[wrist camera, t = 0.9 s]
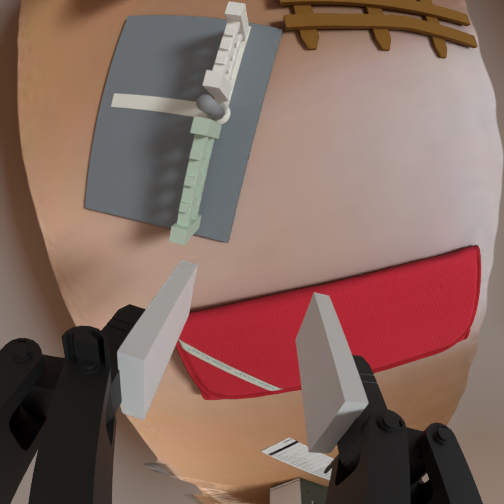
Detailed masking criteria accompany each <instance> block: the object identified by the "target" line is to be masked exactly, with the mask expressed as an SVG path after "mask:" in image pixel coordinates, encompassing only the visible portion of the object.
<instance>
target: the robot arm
mask: <svg viewBox="0 0 504 504" xmlns="http://www.w3.org/2000/svg"><path fill="white" fill-rule="evenodd" d="M197 265H198V264H195V263H191V262H187V261H183V260H181V261H180V263H179V264H178V265H177V267H176V268H175V269H174V271H173V272H172V273H171V275H170V276H169V278H168V279H167V280H166V282H165V283H164V284H163V286H162V287H161V289H160V290H159V291H158V293H157V294H156V296H155V297H154V298H153V300H152V301H151V303H150V304H149V306H148V307H147V308H146V309H143V308H140V307H136V306H133V305H130V304H129V305H127V306H125V307H123V308H121V309H119V310H118V311H117V312H116V313H115V315H114V316H113V317H112V319H110V321H109V322H108V323H107V325H106V326H105V327H104V328H103V329H102V330H101V331H100V330H99V329H97V328H94V327H91V326H78V327H73V328H71V329H69V330H67V331H66V332H65V333H64V335H63V336H62V342H63V348H64V354H65V358H59V357H53V356H48V355H43V354H42V351H41V348H40V347H39V345H38V344H37V343H36V342H35V341H33V340H30V339H27V338H18V339H15V340H12V341H10V342H9V343H7V344H6V345H5V346H4V347H3V348H2V349H1V350H0V504H10V503H11V501H12V499H13V497H14V495H15V493H16V490H17V488H18V486H19V484H20V482H21V480H22V478H23V476H24V474H25V473H26V471H27V469H28V467H29V465H30V463H31V461H32V459H33V457H34V456H35V454H36V452H37V450H38V453H37V458H36V462H35V468H34V472H33V478H32V483H31V490H30V497H29V504H112V476H113V458H114V443H115V433H116V423H117V422H116V412H117V410H118V408H119V406H120V404H121V409H122V413H125V414H127V415H130V416H133V417H136V418H139V419H142V420H144V419H145V417H146V415H147V412H148V410H149V407H150V405H151V402H152V400H153V397H154V395H155V393H156V390H157V388H158V385H159V383H160V381H161V378H162V376H163V374H164V371H165V369H166V367H167V364H168V362H169V360H170V357H171V355H172V353H173V350H174V348H175V346H176V343H177V341H178V339H179V336H180V334H181V332H182V330H183V327H184V325H185V323H186V321H187V318H188V316H189V311H190V305H191V299H192V293H193V288H194V282H195V276H196V271H197ZM296 348H297V355H298V363H299V371H300V379H301V388H302V396H303V405H304V414H305V423H306V432H307V442H308V452H312V453H330V452H331V451H332V450H333V449H334V447H335V446H336V445H338V451H339V454H338V455H337V457H336V458H335V459H334V460H333V461H332V462H331V463H330V464H329V465H328V466H327V467H326V468H325V471H324V473H325V474H327V473H328V472H329V471H330V469H331V468H332V471H331V476H330V482H329V487H328V492H327V497H326V501H325V504H483V503H482V500H481V497H480V495H479V492H478V489H477V487H476V484H475V482H474V480H473V476H472V474H471V471H470V469H469V467H468V464H467V462H466V459H465V457H464V455H463V452H462V450H461V448H460V446H459V443H458V441H457V439H456V437H455V435H454V433H453V432H452V430H450V429H449V428H448V427H447V426H445V425H443V424H441V423H433V424H430V425H429V426H428V427H427V428H426V430H425V431H424V432H423V431H419V430H415V429H411V428H407V427H406V425H405V422H404V420H403V419H402V418H401V417H400V416H399V415H398V414H396V413H395V412H393V411H391V410H388V409H387V407H386V404H385V402H384V399H383V396H382V394H381V391H380V389H379V386H378V384H376V383H377V381H376V379H375V376H373V375H374V374H373V371H372V369H371V367H370V365H369V363H368V362H367V361H366V360H365V359H364V358H363V357H362V356H358V355H352V354H351V351H350V348H349V346H348V343H347V340H346V338H345V335H344V332H343V330H342V327H341V324H340V322H339V319H338V317H337V314H336V312H335V309H334V306H333V304H332V301H331V299H330V296H328V295H324V294H319V293H315V292H314V293H313V296H312V299H311V301H310V304H309V307H308V309H307V312H306V314H305V317H304V320H303V322H302V325H301V327H300V330H299V332H298V335H297V337H296ZM38 448H39V449H38ZM426 473H427V474H428V477H429V480H428V481H427V482H426V483H424V482H423V481H422V477H423V476H424V475H425V474H426Z"/></svg>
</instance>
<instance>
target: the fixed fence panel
mask: <svg viewBox="0 0 504 504" xmlns="http://www.w3.org/2000/svg"><path fill="white" fill-rule="evenodd" d="M225 16H226V19H227V25H226V28H225V31H224V34H223V37H222V40H221V43H220V47H219V50H218V53H217V56H216V60H215V63H214V66H213V70H212V71H211V70H206V74H205V77H204V81H203V84H202V86H203V87H204V88H205V89H206V90H207V91H208V92H209V93H210V94H211V95H212V96H213V97H214V98H215V99H221V100H226V101H229V98H230V94H231V91H232V87H231V85H230V84H229V83H230V79H232V76H233V73H234V72H233V69H234V66H236V62H237V55H239V52H240V49H241V47H240V45H241V42H242V40H245V41H246V39H247V36H248V32H249V25H248V19H247V13H246V6H245V4H244V3H236V2H229V3H228V6H227V8H226V11H225Z"/></svg>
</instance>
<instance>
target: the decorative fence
mask: <svg viewBox="0 0 504 504" xmlns="http://www.w3.org/2000/svg"><path fill="white" fill-rule="evenodd" d="M279 3H280V6H290V5H293V8H294V12H295V14H293V15H284V18H283V19H284V24H285V28H286V31H288V30H299V33H300V37H301V40H302V41H303V43H304V44H305V46H306V47H307V49H308V50H316V48H317V44H318V39H319V34H318V30H317V29H372V32H373V35H374V39H375V41H376V42H377V44H378V45H379V47H380V49H381V50H382V51H389V50H390V43H391V37H390V34H389V30H388V29H394V30H408V31H413V32H417V33H422V34H426V35H430V37H431V41H432V44H433V47H434V49H435V51H436V52H437V54H438V56H439V58H446V56H447V47H446V43H445V40H444V39H446V40H449V41H452V42H456V43H459V44H462V45H465V46H468V47H471V48H476V47H477V43H476V40H475V37H474V36H473V35H470V34H467V33H464V32H461V31H458V30H455V29H452V28H449V27H446V26H442V25H440V24H439V21H438V19H442V20H446V21H450V22H454V23H457V24H461V25H464V26H468V25H470V22H469V19H468V16H467V14H464V13H461V12H457V11H454V10H451V9H447V8H444V7H440V6H436V5H433V4H432V2H431V0H418V1H414V0H279ZM311 5H348V6H362V7H365V8H366V12H367V14H334V13H320V14H313V11H312V7H311ZM382 9H389V10H396V11H403V12H409V13H414V14H420V15H424V18H425V21H424V20H420V19H415V18H411V17H406V16H397V15H384V14H383V11H382Z"/></svg>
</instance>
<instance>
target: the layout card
mask: <svg viewBox="0 0 504 504" xmlns="http://www.w3.org/2000/svg"><path fill="white" fill-rule="evenodd" d="M226 25H227V19H218V18H208V17H196V16H175V15H143V16H128V17H127V20H126V23H125V25H124V28H123V31H122V33H121V36H120V39H119V42H118V45H117V48H116V51H115V54H114V57H113V60H112V63H111V67H110V70H109V74H108V77H107V81H106V85H105V88H104V92H103V96H102V100H101V105H100V109H99V114H98V118H97V123H96V128H95V133H94V139H93V145H92V151H91V157H90V164H89V171H88V179H87V188H86V198H85V208H88V209H92V210H96V211H100V212H104V213H108V214H112V215H117V216H121V217H125V218H129V219H133V220H137V221H141V222H145V223H149V224H154V225H158V226H162V227H166V228H170V229H171V227H172V225H174V224H175V223H176V222H177V220H178V214H179V207H180V202H181V198H182V193H183V187H184V181H185V176H186V173H187V168H188V163H189V157H190V153H191V149H192V145H193V141H194V136H195V134H193V133H190V131H191V127H192V123H193V119H194V116H196V117H202V118H207V119H211V120H213V121H215V122H217V123H218V124H220V125H222V127H221V131H220V135H219V139H216V138H215V139H214V143H213V148H212V153H211V157H210V161H209V165H208V169H207V175H206V180H205V183H204V188H203V192H202V198H201V203H200V207H199V212H198V214H200V215H202V216H201V221H200V226H199V228H198V230H197V231H196V232H195V233H194V235H199V236H203V237H207V238H211V239H215V240H219V241H223V242H227V243H228V242H229V238H230V233H231V229H232V225H233V221H234V216H235V212H236V208H237V204H238V199H239V195H240V191H241V187H242V183H243V179H244V175H245V171H246V167H247V163H248V159H249V155H250V151H251V147H252V143H253V139H254V135H255V131H256V127H257V123H258V119H259V115H260V112H261V108H262V104H263V100H264V96H265V93H266V89H267V85H268V81H269V78H270V74H271V70H272V67H273V63H274V60H275V56H276V52H277V49H278V45H279V42H280V38H281V35H282V31H283V29H279V28H275V27H270V26H265V25H259V24H254V23H248V25H249V32H248V36H247V39H246V41H245V40H242V42H241V45H240V47H241V49H240V52H239V55H237V62H236V66H234V69H233V72H234V73H233V76H232V79H230V83H229V84H230V85H231V87H232V91H231V94H230V98H229V101H226V100H221V99H215V98H214V97H213V96H212V95H211V94H210V93H209V92H208V91H207V90H206V89H205V88H204V87H203V86H202V84H203V81H204V77H205V74H206V70H211V71H212V70H213V66H214V63H215V60H216V56H217V53H218V50H219V47H220V43H221V40H222V37H223V34H224V31H225V28H226ZM202 95H210V96H211V97H212V98H213V99H214V100H215V101H216V102H217V103H218V104H219V105H220V106H221V107H222V108H223V109H224V110H225V115H224V117H223V118H222V119H219V120H216V119H214V118H212V117H210V116H209V115H207V114H206V113H204V112H202V111H201V110H199V109H198V108H197V105H196V102H197V99H198V98H199V97H200V96H202Z"/></svg>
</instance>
